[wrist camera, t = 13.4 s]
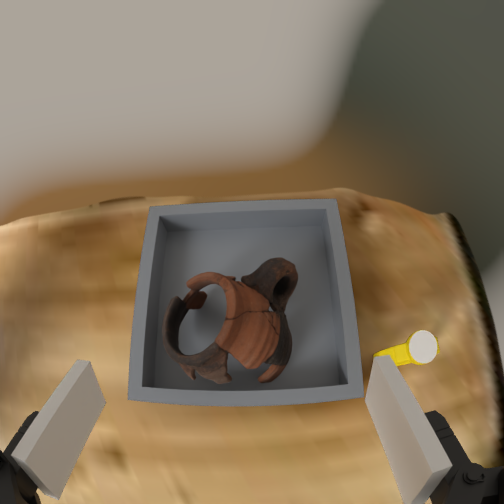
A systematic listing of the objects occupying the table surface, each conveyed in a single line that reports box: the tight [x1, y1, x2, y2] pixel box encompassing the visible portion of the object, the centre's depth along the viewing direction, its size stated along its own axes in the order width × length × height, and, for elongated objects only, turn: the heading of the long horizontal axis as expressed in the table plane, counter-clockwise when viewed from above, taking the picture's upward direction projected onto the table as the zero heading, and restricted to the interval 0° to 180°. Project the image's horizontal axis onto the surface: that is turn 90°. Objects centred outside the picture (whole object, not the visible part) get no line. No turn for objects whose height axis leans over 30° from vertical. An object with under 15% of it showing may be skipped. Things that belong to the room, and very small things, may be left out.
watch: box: [373, 330, 440, 366], centre depth 23 cm, size 6×3×6 cm, turn 95°
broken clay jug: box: [162, 257, 298, 384], centre depth 25 cm, size 12×10×8 cm
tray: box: [128, 199, 364, 406], centre depth 27 cm, size 18×18×4 cm
